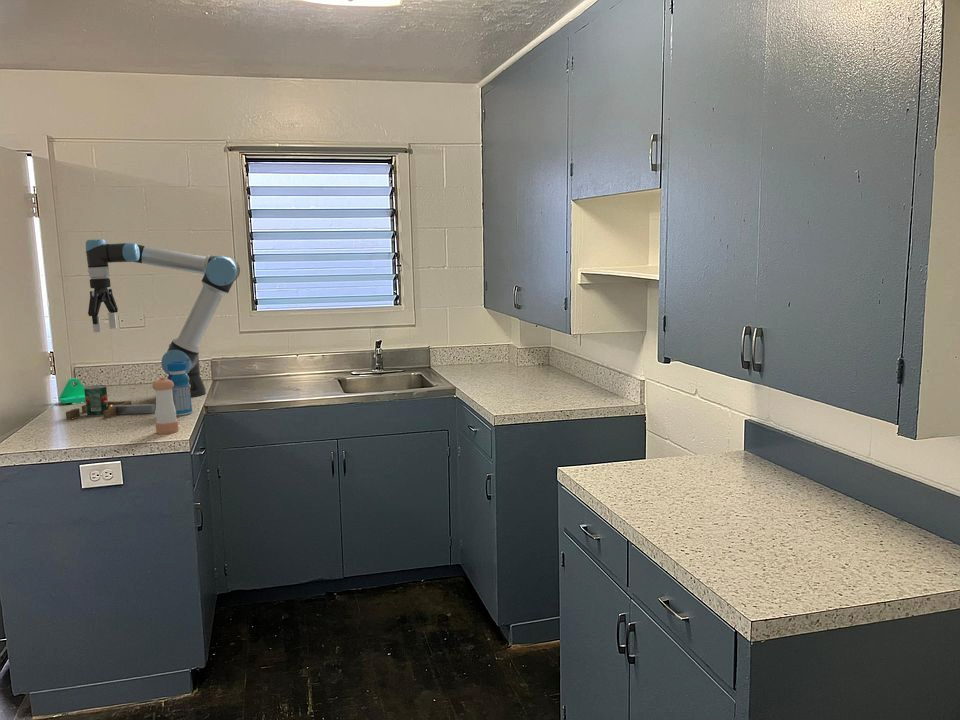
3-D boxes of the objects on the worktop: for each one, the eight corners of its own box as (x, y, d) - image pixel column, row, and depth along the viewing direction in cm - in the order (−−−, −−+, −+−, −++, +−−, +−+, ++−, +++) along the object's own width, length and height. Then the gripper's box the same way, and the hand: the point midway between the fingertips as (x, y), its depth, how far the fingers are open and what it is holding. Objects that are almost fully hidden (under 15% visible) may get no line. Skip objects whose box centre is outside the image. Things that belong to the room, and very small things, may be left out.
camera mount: (63, 406, 332) (60, 381, 330) (59, 403, 338) (57, 379, 336) (94, 401, 339) (92, 378, 338) (90, 399, 345) (87, 376, 344)
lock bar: (155, 411, 312) (154, 403, 311) (151, 413, 309) (151, 404, 308) (112, 412, 313) (111, 404, 312) (107, 414, 309) (106, 405, 309)
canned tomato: (83, 414, 311) (80, 387, 310) (104, 411, 317) (101, 384, 315) (91, 417, 306) (88, 389, 304) (112, 413, 311) (109, 386, 310)
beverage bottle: (182, 416, 301) (177, 364, 298) (164, 415, 304) (159, 364, 301) (197, 412, 309) (193, 361, 306) (180, 411, 312) (175, 360, 309)
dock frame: (131, 408, 321) (131, 400, 321) (107, 418, 302) (106, 411, 302) (93, 409, 322) (92, 401, 322) (66, 419, 303) (65, 412, 302)
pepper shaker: (181, 428, 281) (176, 375, 278) (174, 433, 274) (169, 378, 271) (160, 429, 281) (155, 376, 278) (153, 434, 273) (147, 379, 271)
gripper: (105, 277, 334) (110, 327, 337) (74, 280, 309) (81, 334, 312) (122, 276, 334) (128, 326, 337) (93, 279, 309) (99, 333, 312)
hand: (105, 330), depth 325 cm, fingers open, 13 cm apart
